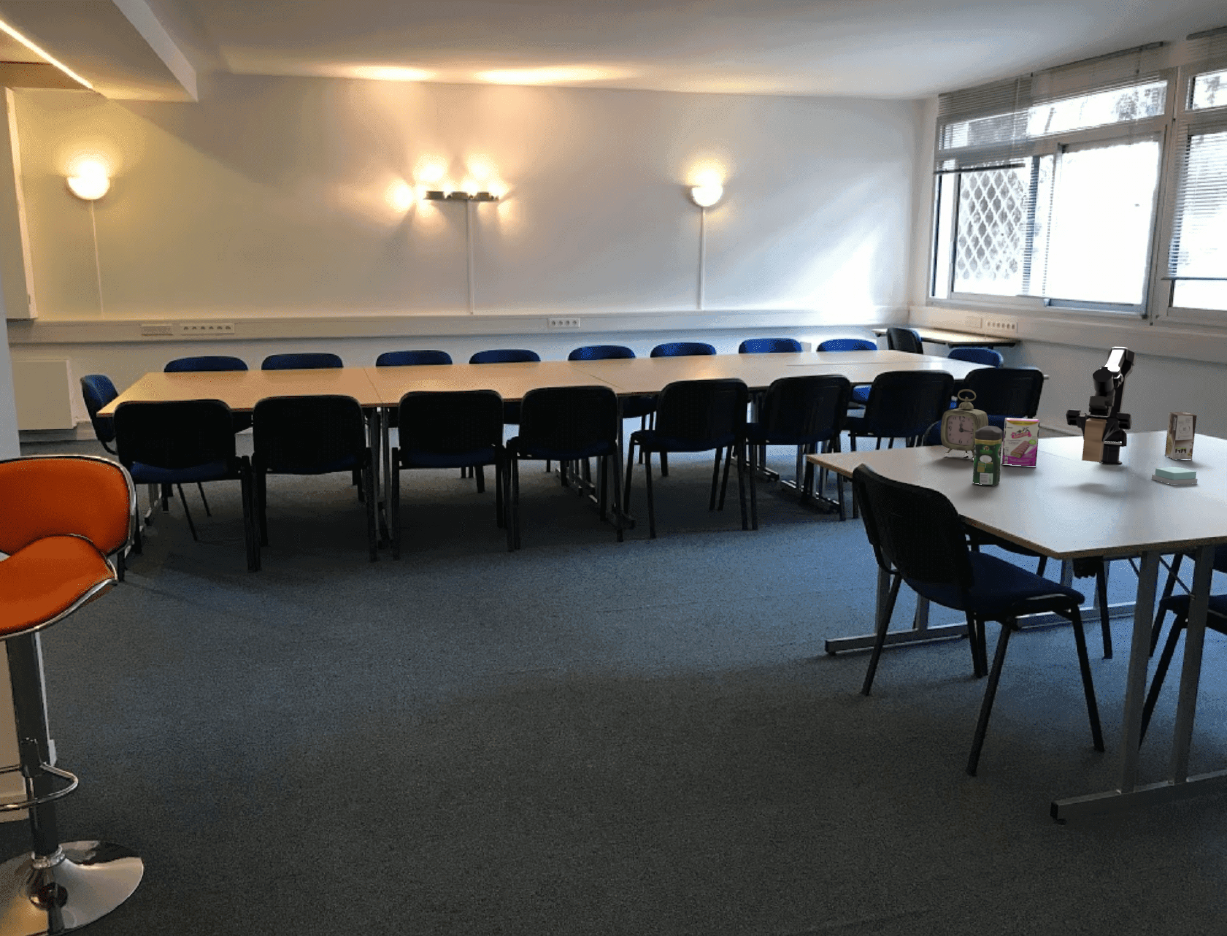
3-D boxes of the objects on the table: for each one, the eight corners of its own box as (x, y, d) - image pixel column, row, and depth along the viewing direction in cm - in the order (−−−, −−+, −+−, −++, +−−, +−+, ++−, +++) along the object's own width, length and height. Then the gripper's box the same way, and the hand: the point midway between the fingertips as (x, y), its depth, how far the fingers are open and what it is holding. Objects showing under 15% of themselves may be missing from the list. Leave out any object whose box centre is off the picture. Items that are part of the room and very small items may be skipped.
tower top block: (1155, 475, 314) (1155, 468, 313) (1176, 473, 315) (1177, 466, 315) (1173, 479, 306) (1174, 473, 306) (1195, 478, 307) (1196, 471, 307)
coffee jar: (976, 479, 319) (979, 423, 315) (1001, 482, 315) (1005, 425, 311) (969, 485, 311) (972, 428, 307) (995, 488, 307) (999, 429, 303)
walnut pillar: (1085, 457, 317) (1089, 418, 314) (1102, 459, 314) (1106, 419, 311) (1081, 460, 313) (1085, 420, 311) (1098, 462, 310) (1103, 422, 308)
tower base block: (1151, 480, 315) (1151, 474, 315) (1176, 479, 316) (1177, 473, 316) (1171, 487, 306) (1171, 480, 306) (1196, 485, 308) (1197, 478, 307)
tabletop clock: (939, 457, 357) (942, 389, 351) (951, 453, 362) (955, 386, 357) (976, 462, 346) (980, 392, 341) (988, 458, 352) (993, 389, 347)
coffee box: (1192, 460, 342) (1197, 415, 339) (1172, 460, 343) (1177, 415, 340) (1183, 455, 351) (1188, 411, 348) (1163, 455, 352) (1168, 411, 349)
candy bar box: (1001, 466, 339) (1004, 419, 335) (1001, 463, 343) (1004, 417, 340) (1036, 468, 335) (1040, 420, 332) (1035, 465, 340) (1039, 418, 336)
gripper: (1069, 384, 318) (1059, 422, 311) (1133, 387, 307) (1124, 427, 300) (1072, 405, 325) (1062, 443, 319) (1135, 409, 314) (1126, 448, 308)
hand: (1093, 440), depth 311 cm, fingers closed on walnut pillar, 5 cm apart
